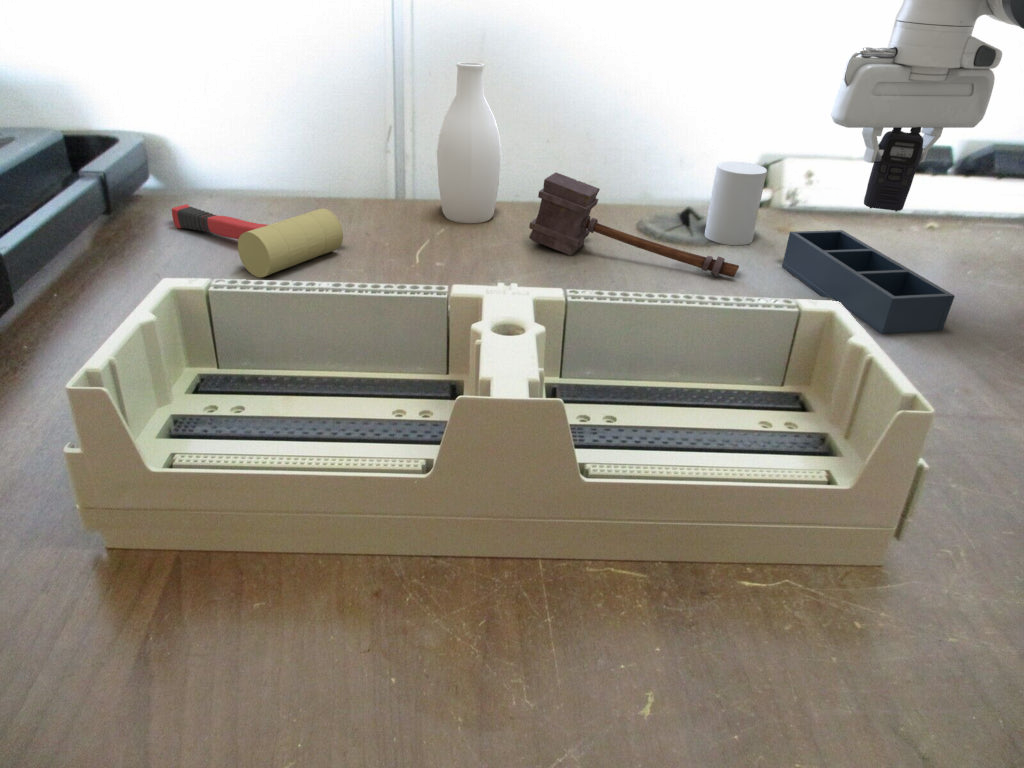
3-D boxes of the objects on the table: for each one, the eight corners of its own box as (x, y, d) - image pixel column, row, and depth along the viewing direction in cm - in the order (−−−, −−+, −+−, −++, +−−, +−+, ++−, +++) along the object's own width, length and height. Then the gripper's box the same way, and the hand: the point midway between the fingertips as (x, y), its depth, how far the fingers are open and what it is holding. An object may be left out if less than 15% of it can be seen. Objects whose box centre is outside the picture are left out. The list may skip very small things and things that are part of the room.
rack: (833, 264, 123) (842, 230, 120) (940, 335, 101) (955, 295, 99) (781, 266, 121) (789, 231, 118) (879, 339, 100) (892, 298, 97)
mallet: (144, 246, 122) (273, 281, 107) (135, 205, 119) (266, 236, 104) (218, 224, 132) (345, 253, 118) (211, 186, 129) (340, 211, 115)
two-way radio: (862, 208, 103) (896, 91, 96) (857, 200, 107) (889, 86, 100) (906, 214, 102) (943, 95, 95) (899, 205, 106) (935, 90, 99)
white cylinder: (762, 242, 131) (777, 172, 125) (722, 247, 128) (736, 175, 122) (733, 227, 137) (746, 160, 131) (695, 231, 135) (707, 162, 129)
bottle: (464, 230, 130) (465, 70, 117) (424, 213, 137) (422, 61, 124) (512, 218, 137) (518, 65, 124) (472, 203, 144) (474, 57, 131)
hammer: (540, 226, 129) (555, 169, 123) (725, 299, 121) (750, 242, 116) (524, 238, 123) (539, 179, 118) (717, 315, 116) (742, 256, 110)
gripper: (867, 50, 90) (837, 168, 97) (1014, 53, 94) (975, 166, 101) (837, 43, 95) (810, 156, 102) (978, 47, 99) (943, 155, 106)
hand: (893, 161), depth 101 cm, fingers closed on two-way radio, 5 cm apart
